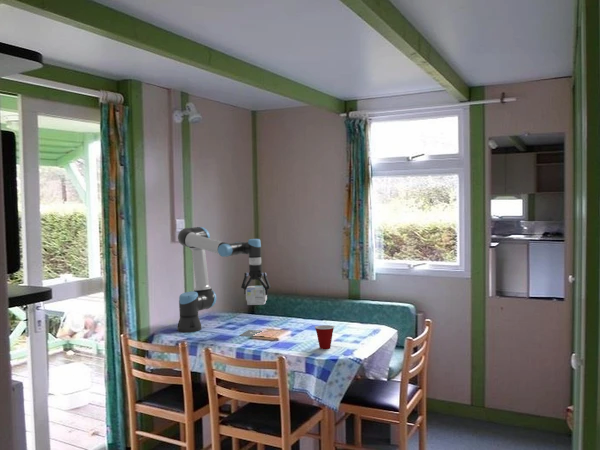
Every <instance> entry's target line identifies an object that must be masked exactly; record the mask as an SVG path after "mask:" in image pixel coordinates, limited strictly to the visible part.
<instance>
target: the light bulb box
mask: <svg viewBox="0 0 600 450" xmlns="http://www.w3.org/2000/svg"><path fill="white" fill-rule="evenodd" d="M264 290H265V288H264V287H263V285H249V286H248V287H247V300H246V305H247V306H255V305H257V306H258V305H259V306H262V305H265V304H266V303H267V302H266V301H267V300H266V301H264Z"/></svg>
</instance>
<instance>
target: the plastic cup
mask: <svg viewBox="0 0 600 450" xmlns="http://www.w3.org/2000/svg"><path fill="white" fill-rule="evenodd" d="M314 329H315V331H316V334H317V335H316V336H317V342H318V346H319V349H320V350H330V349H331V346H332V340H333V332H334V329H335V326H334V325H331V324H330V325H328V324H326V325H323V324H322V325H316V326H314Z"/></svg>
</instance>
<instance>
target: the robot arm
mask: <svg viewBox="0 0 600 450" xmlns="http://www.w3.org/2000/svg"><path fill="white" fill-rule="evenodd" d="M177 240H178V242H179V244H180V245H182V246H184V247H187V248H189V250H190V251H192V263H193V271H194V273H193V274H194V281H195V288H193V290H191V291H185V292H182V293H181V294H180V295H179V297H178V306H179V307H178V308H179V319H178V323H177V326H176V328H177V332H180V333H193V332H198V331H201V330H202V323H201V321H200V318H199V312H200V311H203V310H208V309H210V308H212V307H214V306H215V305H216V302H217V294H216V293H215V290H212V286H210V281H209V273H208V271H209V270H208V263H207V255H206V254H207V252H206V251H208V252H210V253H211V252H212V253H215V254H218V255H219V256H221V257H224V258H225V257H226V258H227V257H231V256H232V257H233V256H239V255H248V264H249V265H248V271H249V272H244V277H243V281H242V283H241V289H243V290H244V295H245V301H247V287H248V286H251V285H250V284H251V283H252V281H253V280H255V281H256V280H257V281H259V282H260V284H261V286H263V287H264V288H265V290H264V301H267V300H268V295H269V290H270V289H271V288H272V286H271V283H270V281H269V278H268V273H267V272H263V269H262V244H261V243H262V241H261V239H260V238H250V239H248V241H236V242H231V243H228V242H224V241H221V240H218V239H214V238H211V235H210V232H209V230H208V229H206V228H205V227H202V226H196V227H194V226H193V227H185V228H182V229H181V230H180V231H179V232H178V234H177Z"/></svg>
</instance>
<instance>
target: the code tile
mask: <svg viewBox="0 0 600 450" xmlns="http://www.w3.org/2000/svg"><path fill="white" fill-rule="evenodd" d="M262 331H263V330H260V329H259V330H258V329H257V330H256V329H248V330H245V331H244V332H243V333H241V334H240V335H239V337H240V336H241V337H251V336H253V335H255V334H257V333H260V332H262Z"/></svg>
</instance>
